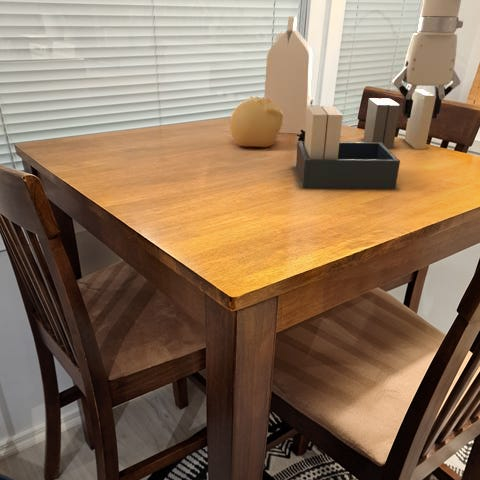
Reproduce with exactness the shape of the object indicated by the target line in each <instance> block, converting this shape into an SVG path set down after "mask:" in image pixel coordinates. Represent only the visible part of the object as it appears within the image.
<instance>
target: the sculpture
mask: <svg viewBox="0 0 480 480" xmlns="http://www.w3.org/2000/svg"><path fill="white" fill-rule="evenodd" d="M282 119H283V114H282V111H281V110H280V109H279V108H278V107H276V105H274V104H273V103H272V102H271V101H270V99H268V98H265V97H264V96H263V97H259V96H250V97H249V98H248V99H246V100H243V101H241V102H240V103H238V104H237V105H236V106H235V108H234V109H233V111H232V113H231V115H230V122H229V129H230V134H231V137H232V139H233V141H234V143H235V144H236V145H238V146H241V147H248V148H249V147H251V148H269V147H271V146H272V145H273V144H274V143H275V141H276V140H277V139H278V135H279V134H280V133H279V130H280V129H281V126H282Z"/></svg>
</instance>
